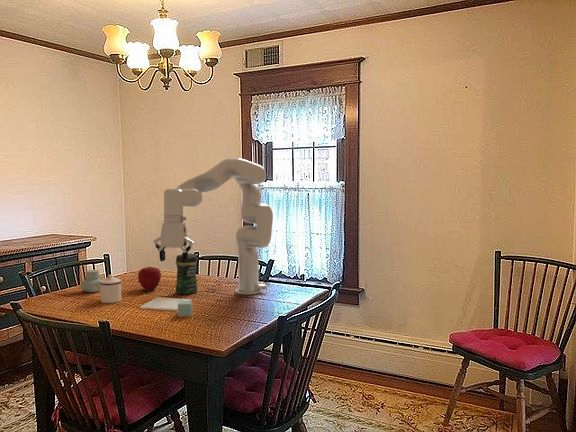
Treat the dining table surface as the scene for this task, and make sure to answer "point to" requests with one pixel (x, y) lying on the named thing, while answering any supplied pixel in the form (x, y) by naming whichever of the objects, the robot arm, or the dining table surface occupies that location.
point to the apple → (149, 277)
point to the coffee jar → (186, 275)
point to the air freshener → (91, 281)
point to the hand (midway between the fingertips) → (173, 261)
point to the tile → (163, 304)
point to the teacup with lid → (110, 290)
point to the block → (185, 308)
